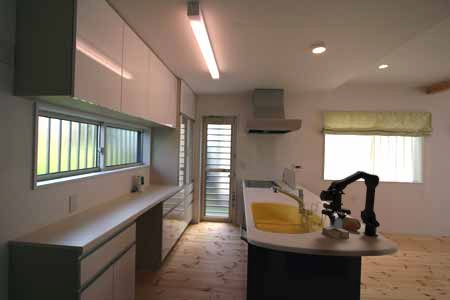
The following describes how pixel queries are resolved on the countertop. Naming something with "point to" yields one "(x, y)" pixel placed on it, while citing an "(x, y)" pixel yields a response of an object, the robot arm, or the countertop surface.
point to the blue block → (337, 223)
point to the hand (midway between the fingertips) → (335, 225)
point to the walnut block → (335, 232)
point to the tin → (351, 224)
